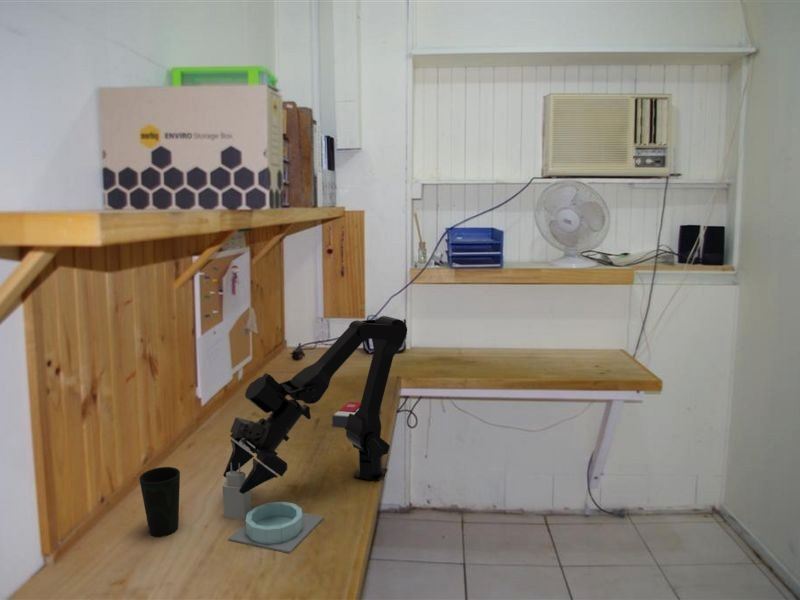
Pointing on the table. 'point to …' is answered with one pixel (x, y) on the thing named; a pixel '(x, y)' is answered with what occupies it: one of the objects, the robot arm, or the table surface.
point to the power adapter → (235, 496)
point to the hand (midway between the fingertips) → (232, 484)
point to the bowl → (274, 522)
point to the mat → (307, 526)
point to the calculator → (345, 414)
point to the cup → (161, 500)
